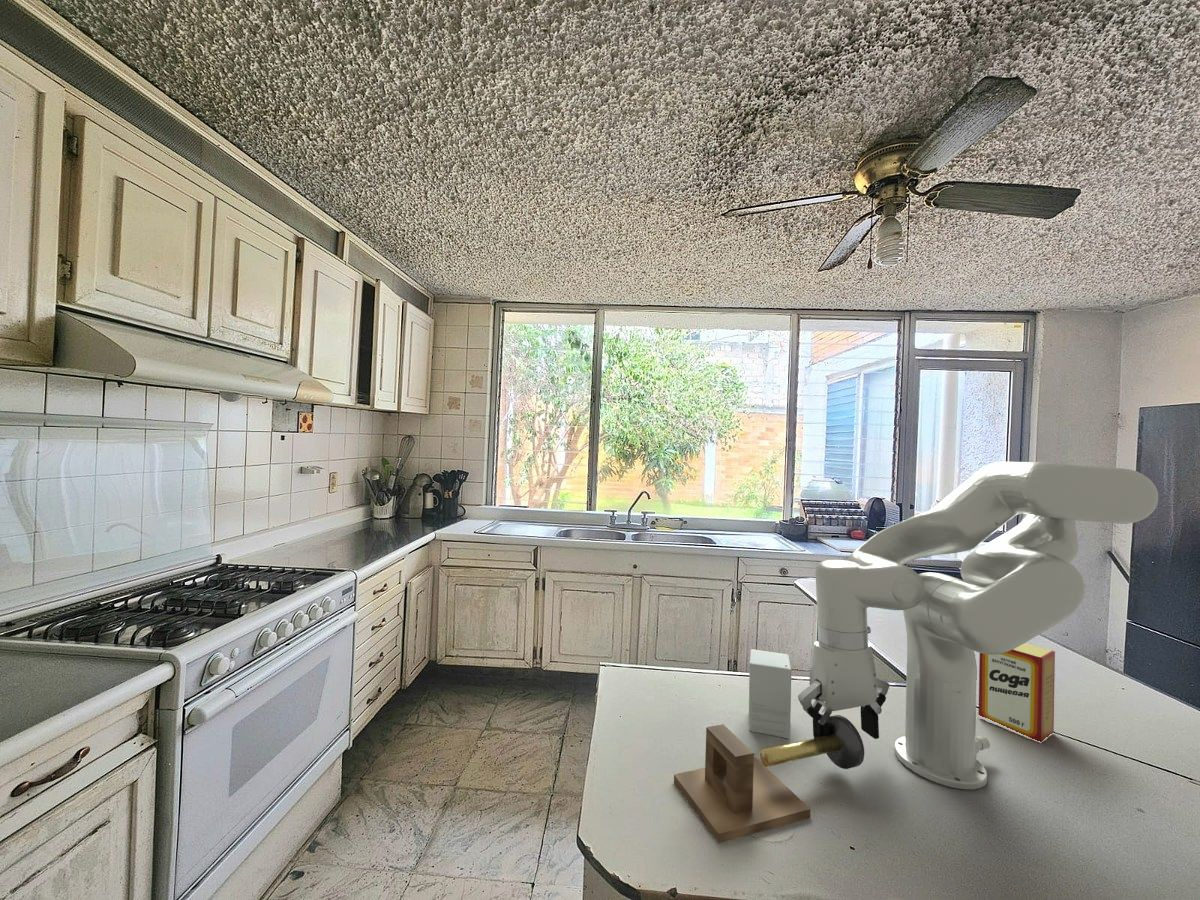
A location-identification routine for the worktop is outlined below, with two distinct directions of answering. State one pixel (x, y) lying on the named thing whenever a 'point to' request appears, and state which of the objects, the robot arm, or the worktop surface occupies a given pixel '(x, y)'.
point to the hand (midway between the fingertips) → (846, 739)
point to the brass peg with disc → (822, 746)
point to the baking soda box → (1019, 690)
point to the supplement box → (769, 693)
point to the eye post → (737, 790)
